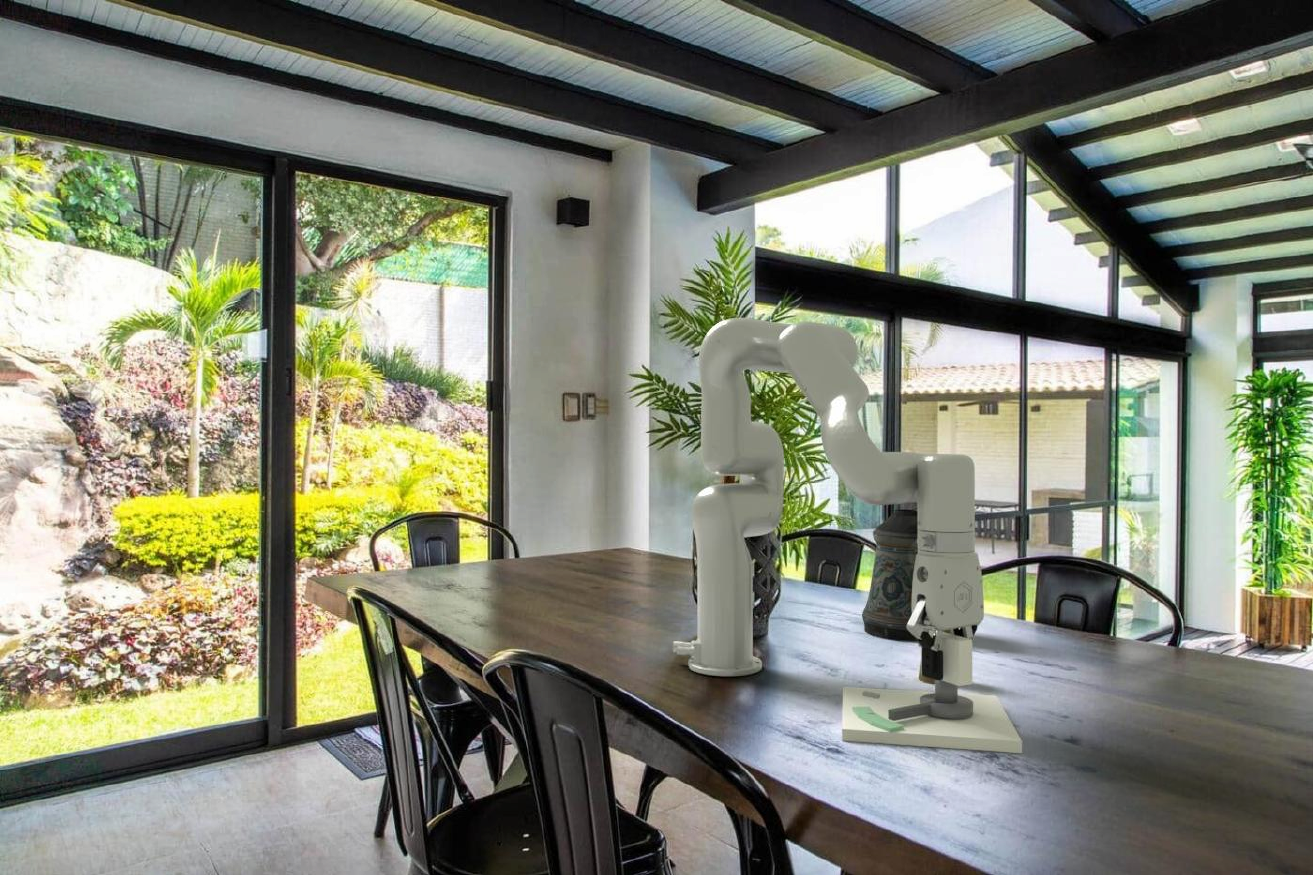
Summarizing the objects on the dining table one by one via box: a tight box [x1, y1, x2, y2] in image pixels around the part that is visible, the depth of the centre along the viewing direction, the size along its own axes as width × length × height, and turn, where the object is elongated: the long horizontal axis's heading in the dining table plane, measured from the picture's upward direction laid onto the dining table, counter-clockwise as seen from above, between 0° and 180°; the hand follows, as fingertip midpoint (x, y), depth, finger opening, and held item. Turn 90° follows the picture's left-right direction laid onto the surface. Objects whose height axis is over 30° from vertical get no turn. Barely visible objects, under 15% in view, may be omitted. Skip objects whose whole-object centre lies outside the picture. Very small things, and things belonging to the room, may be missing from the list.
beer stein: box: [861, 509, 918, 642], centre depth 178 cm, size 16×19×25 cm
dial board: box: [841, 686, 1023, 754], centre depth 121 cm, size 22×20×2 cm
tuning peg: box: [888, 630, 973, 721], centre depth 119 cm, size 14×7×10 cm, turn 118°
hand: (946, 673), depth 121 cm, fingers open, 4 cm apart
